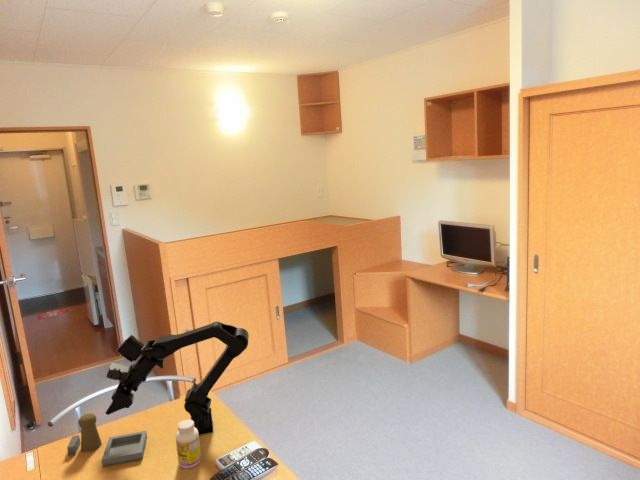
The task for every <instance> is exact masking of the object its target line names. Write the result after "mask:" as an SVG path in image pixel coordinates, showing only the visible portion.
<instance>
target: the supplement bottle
mask: <svg viewBox="0 0 640 480" xmlns="http://www.w3.org/2000/svg"><path fill="white" fill-rule="evenodd" d="M175 443H176V453H177V460H178V465H179V467H181V468H182V469H191V468H194V467H196V466H197V465H199V463H200V462H201V460H202V453H201V444H200V435H199V433H198V430H197V429H196V428H195V427H194V421H193V420H191V419H189V418H188V419H183V420H182V421H180V422H178V424H177V432H176V434H175Z"/></svg>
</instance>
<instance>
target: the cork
mask: <svg viewBox="0 0 640 480" xmlns="http://www.w3.org/2000/svg"><path fill="white" fill-rule="evenodd" d="M77 423H78V426H79V428H80V450H81V452H83V453H91V452H92V453H93V451H94V452H95V451H96V450H98V449H99V448H100V447H102V444H103V443H102V440H101V437H100V433H99V431H98V429H97V425H96V423H97V416H96V414H94V413H92V412H91V413H90V412H89V413H85V414H83V415H81V416H80V417H79V419H78V421H77Z"/></svg>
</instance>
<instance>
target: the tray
mask: <svg viewBox="0 0 640 480" xmlns="http://www.w3.org/2000/svg"><path fill="white" fill-rule="evenodd" d="M147 439H148V435H147V430H142V431H137V432H132V433H131V432H130V433H126V434H121V435H115V436H109V437H108V440H107V443H106V446H105V448H104V451H103V455H102V458H101V465H102V468H106V467H110V466H116V465H121V464H125V463H132V462H137V461H141V460H143V459H144V455H145V450H146V446H147V445H146V444H147Z"/></svg>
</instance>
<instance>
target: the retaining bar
mask: <svg viewBox="0 0 640 480" xmlns="http://www.w3.org/2000/svg"><path fill="white" fill-rule="evenodd" d="M80 447H81V436H80V435H79V434H77V435H72V437H71V438H70V441H69V443H68V444H67V449H66V450H67V456H68V457H70V456H75V455H77V453H78V450H79V448H80Z"/></svg>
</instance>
